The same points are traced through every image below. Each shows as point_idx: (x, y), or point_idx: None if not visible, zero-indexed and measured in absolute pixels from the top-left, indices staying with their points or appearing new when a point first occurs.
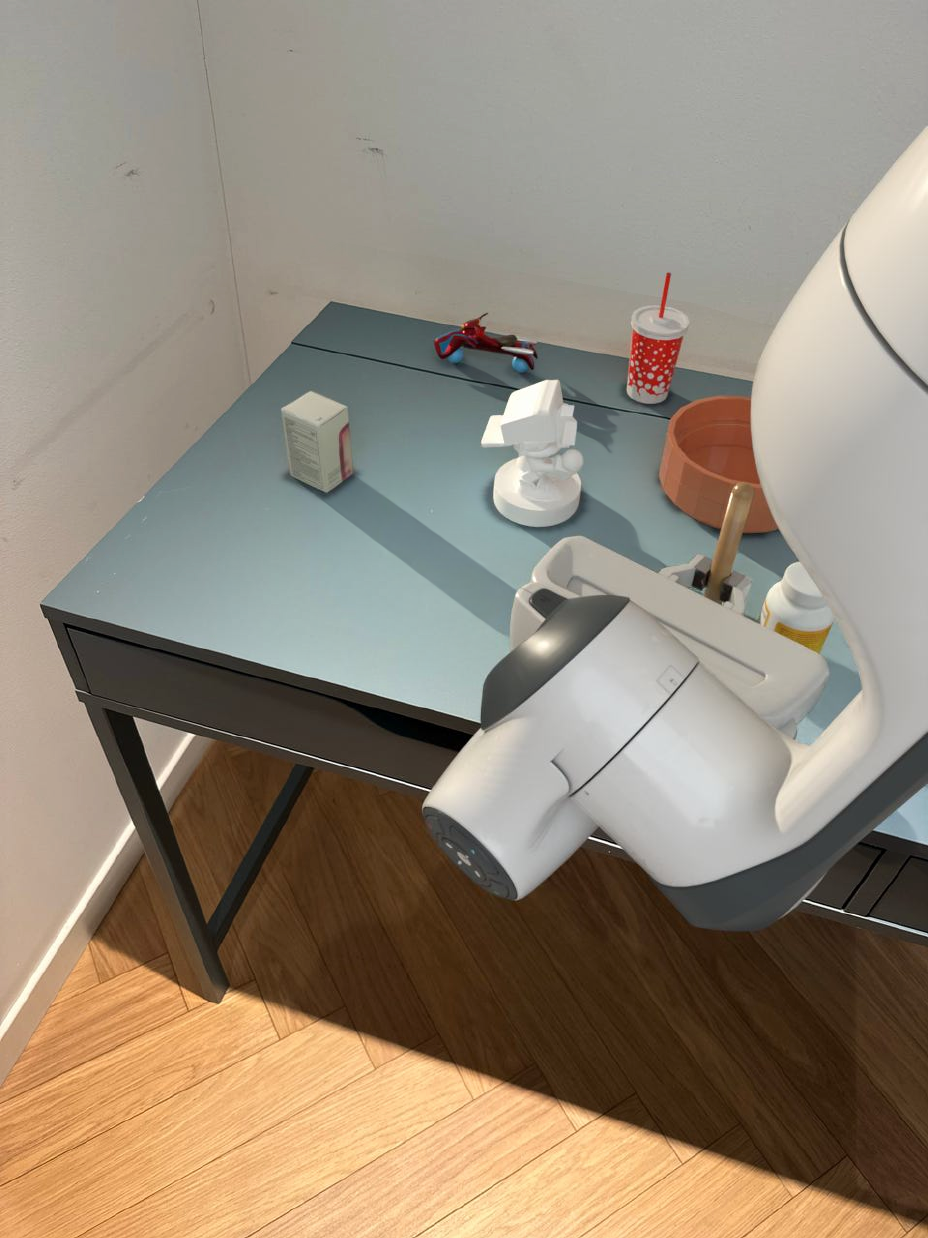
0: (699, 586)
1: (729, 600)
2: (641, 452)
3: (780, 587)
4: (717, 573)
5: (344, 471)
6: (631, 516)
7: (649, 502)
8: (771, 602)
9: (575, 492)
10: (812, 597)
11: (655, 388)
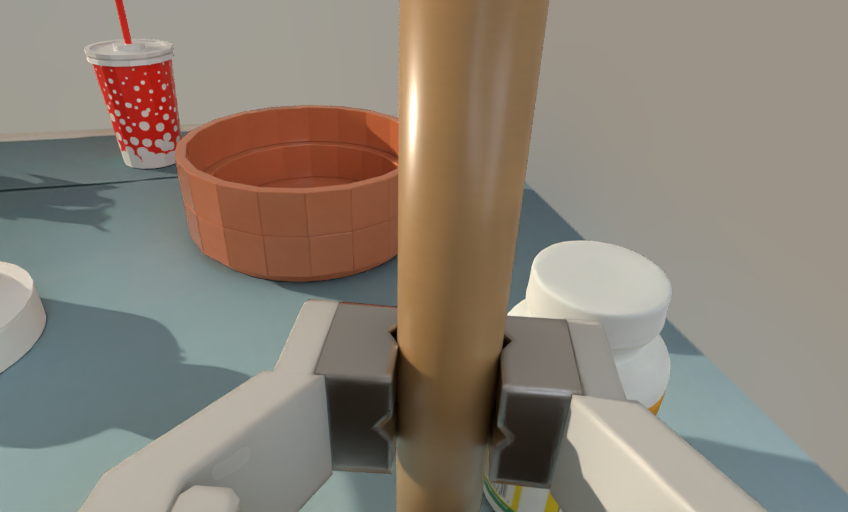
0: (375, 457)
1: (555, 469)
2: (159, 219)
3: None
4: (454, 357)
5: None
6: (158, 311)
7: (187, 280)
8: None
9: (19, 303)
10: (645, 318)
11: (159, 143)
